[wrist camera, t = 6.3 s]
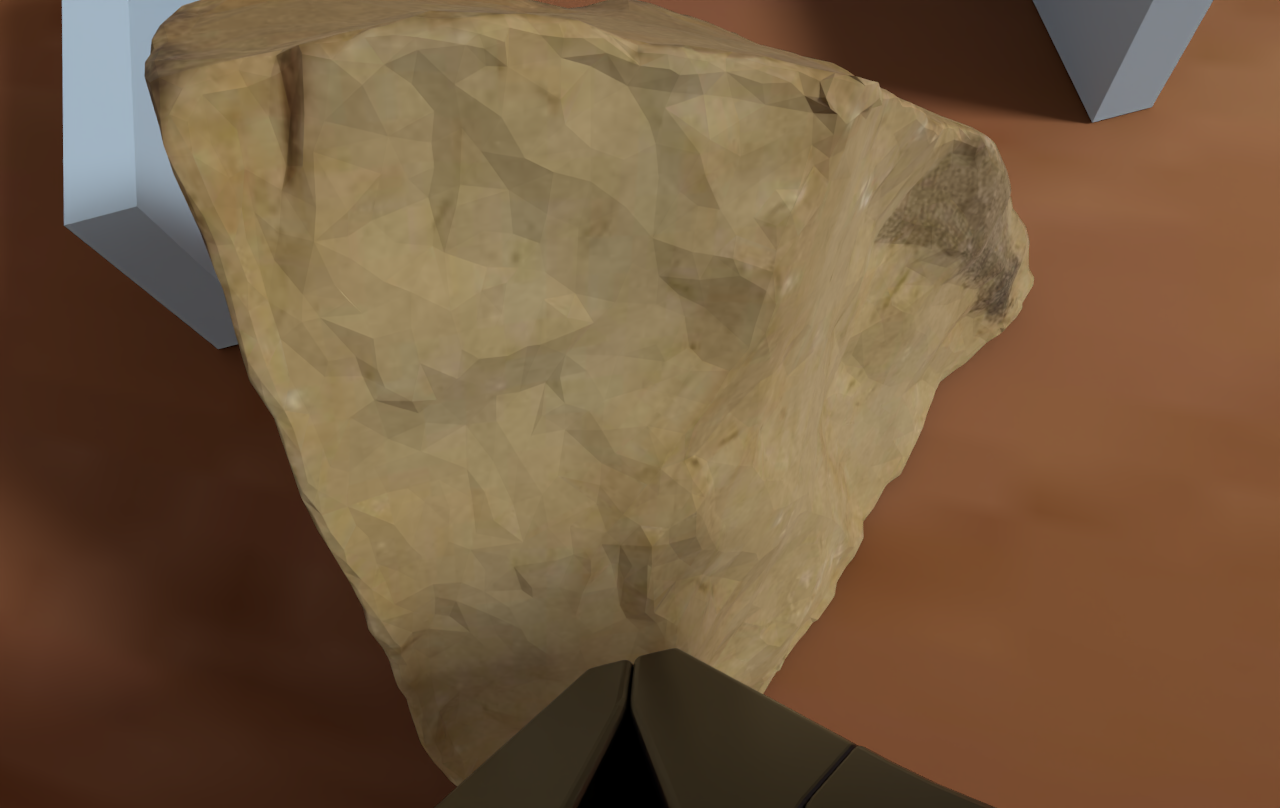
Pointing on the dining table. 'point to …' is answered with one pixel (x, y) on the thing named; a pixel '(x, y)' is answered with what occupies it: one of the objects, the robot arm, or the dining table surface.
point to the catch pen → (171, 241)
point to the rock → (577, 319)
